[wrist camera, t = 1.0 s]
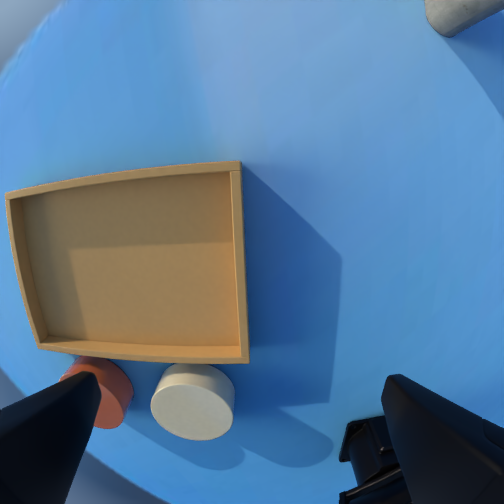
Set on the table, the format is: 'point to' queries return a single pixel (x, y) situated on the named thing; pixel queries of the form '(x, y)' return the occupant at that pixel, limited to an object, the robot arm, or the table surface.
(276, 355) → the table surface
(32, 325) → the serving tray
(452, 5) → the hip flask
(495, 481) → the robot arm
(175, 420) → the white short cylinder
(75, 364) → the reddish-brown short cylinder
